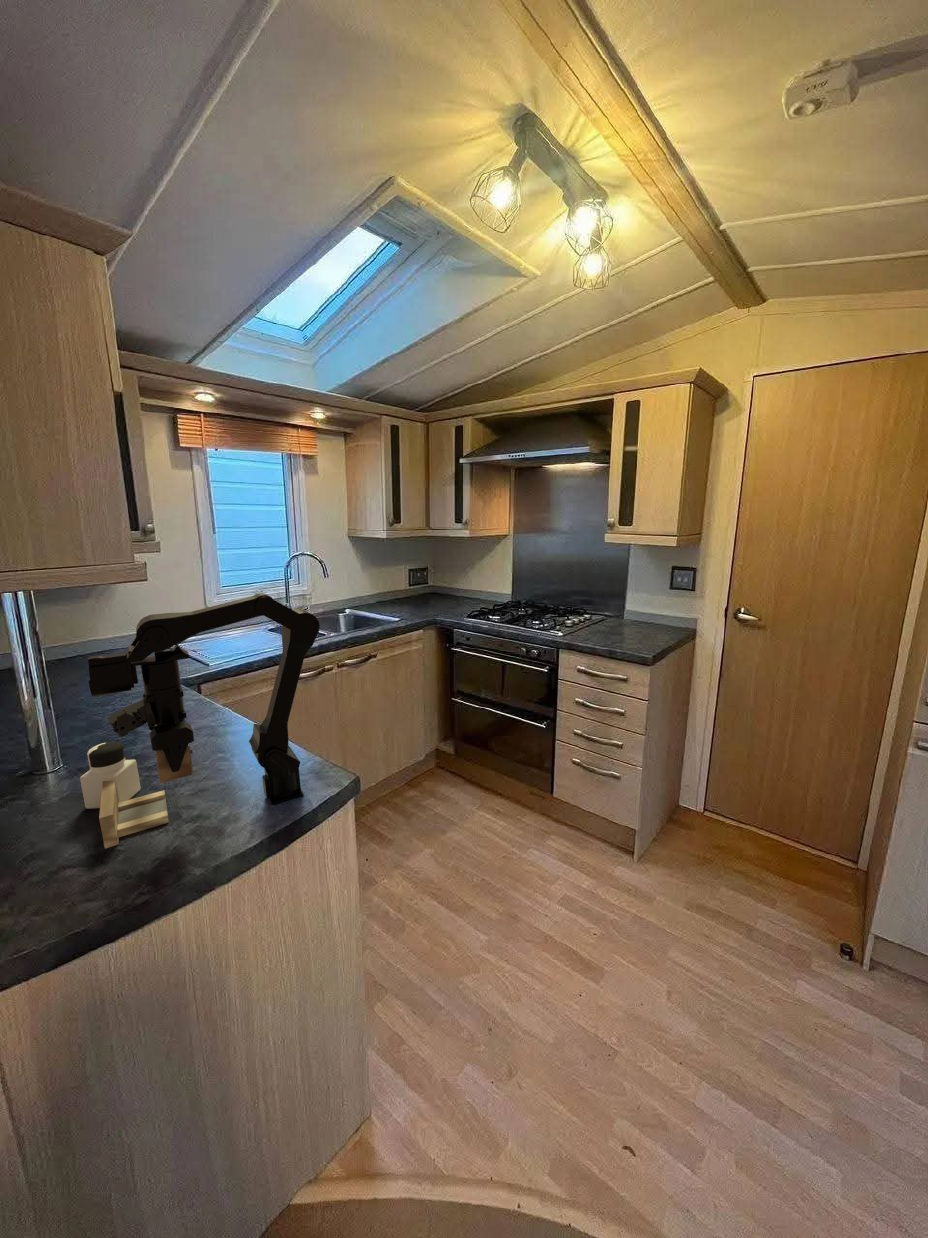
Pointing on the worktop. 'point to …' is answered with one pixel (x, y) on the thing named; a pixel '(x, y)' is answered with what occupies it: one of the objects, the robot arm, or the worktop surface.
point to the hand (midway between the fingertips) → (174, 765)
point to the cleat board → (129, 813)
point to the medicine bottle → (109, 774)
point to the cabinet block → (166, 771)
